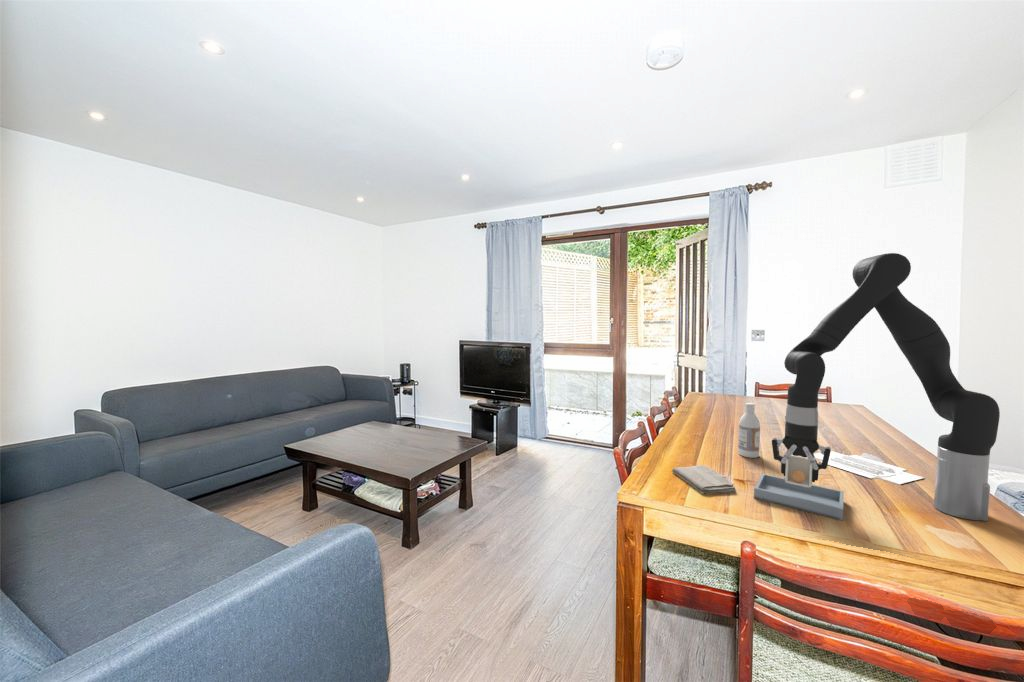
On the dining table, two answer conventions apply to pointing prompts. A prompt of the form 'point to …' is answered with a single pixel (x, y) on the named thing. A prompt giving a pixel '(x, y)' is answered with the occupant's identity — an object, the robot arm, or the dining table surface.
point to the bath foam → (749, 433)
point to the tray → (800, 496)
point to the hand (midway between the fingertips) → (798, 478)
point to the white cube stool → (799, 465)
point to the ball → (798, 476)
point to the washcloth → (705, 479)
